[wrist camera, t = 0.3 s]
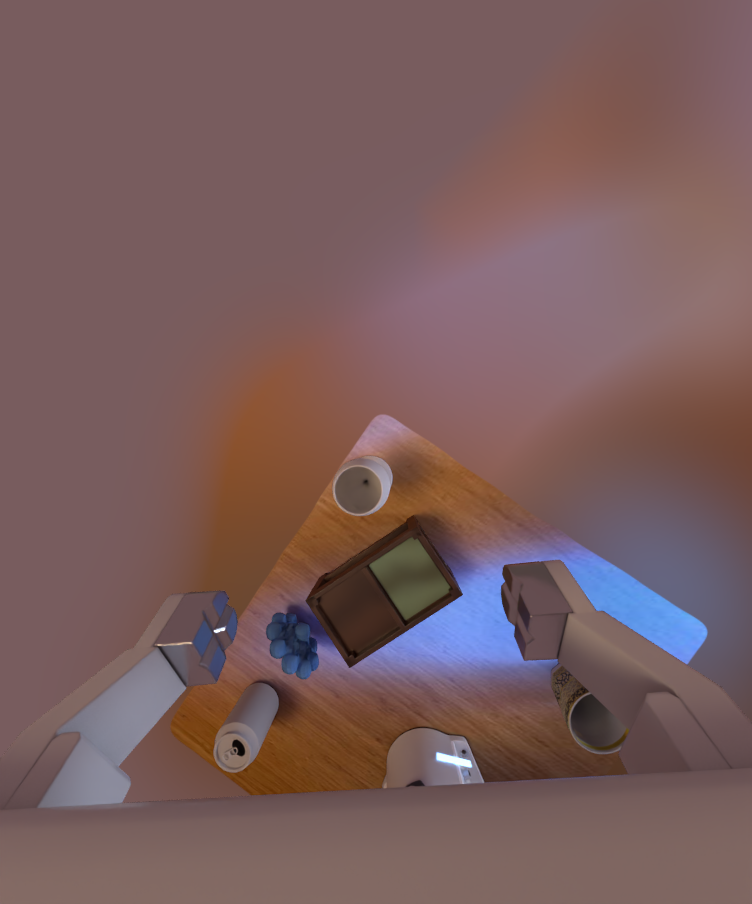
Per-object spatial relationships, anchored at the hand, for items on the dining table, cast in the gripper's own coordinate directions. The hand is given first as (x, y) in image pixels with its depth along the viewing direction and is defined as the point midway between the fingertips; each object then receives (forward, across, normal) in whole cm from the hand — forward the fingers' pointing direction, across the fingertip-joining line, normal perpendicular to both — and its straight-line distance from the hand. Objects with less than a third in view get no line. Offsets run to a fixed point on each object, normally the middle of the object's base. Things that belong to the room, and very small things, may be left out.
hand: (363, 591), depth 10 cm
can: (+28, -30, -62) cm, 74 cm away
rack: (+38, -3, -42) cm, 57 cm away
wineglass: (+47, -4, -26) cm, 54 cm away
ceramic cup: (+28, +30, -63) cm, 75 cm away
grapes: (+35, -19, -49) cm, 63 cm away
